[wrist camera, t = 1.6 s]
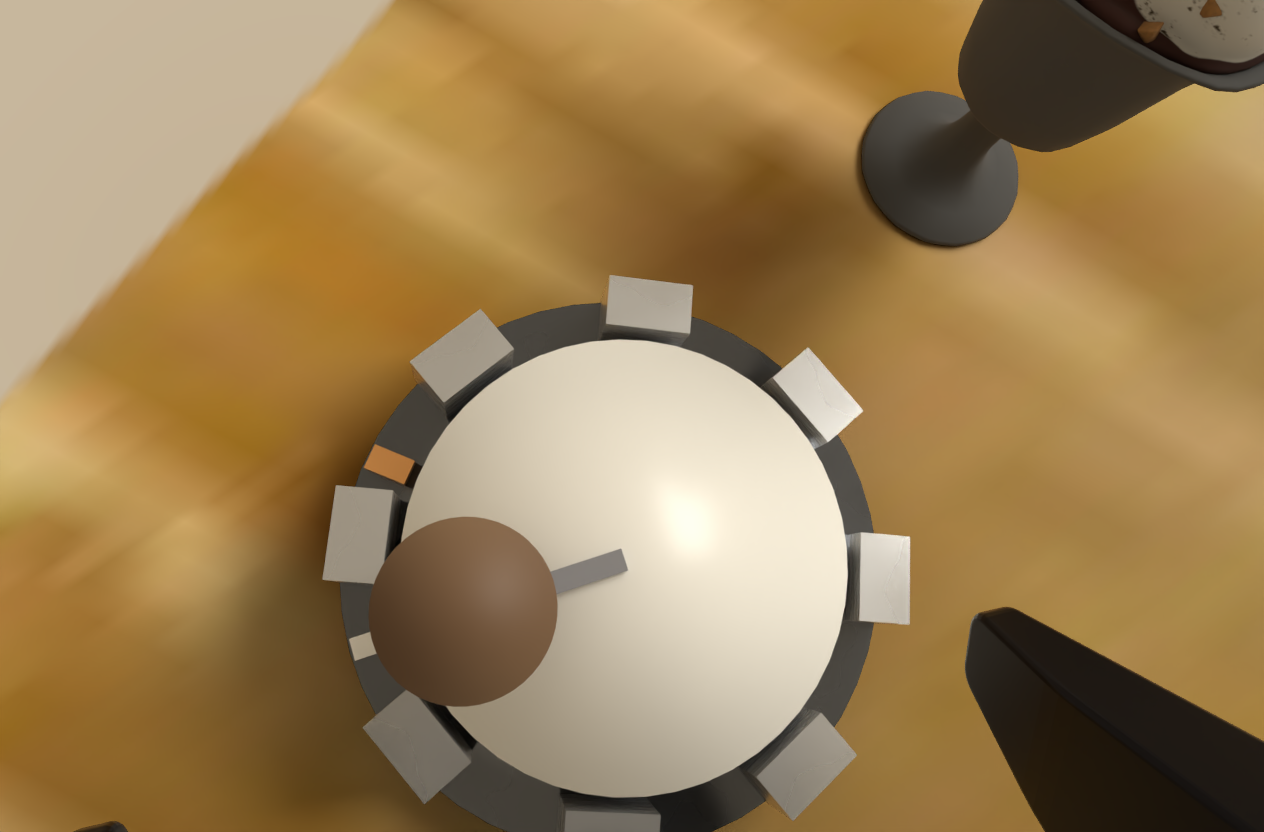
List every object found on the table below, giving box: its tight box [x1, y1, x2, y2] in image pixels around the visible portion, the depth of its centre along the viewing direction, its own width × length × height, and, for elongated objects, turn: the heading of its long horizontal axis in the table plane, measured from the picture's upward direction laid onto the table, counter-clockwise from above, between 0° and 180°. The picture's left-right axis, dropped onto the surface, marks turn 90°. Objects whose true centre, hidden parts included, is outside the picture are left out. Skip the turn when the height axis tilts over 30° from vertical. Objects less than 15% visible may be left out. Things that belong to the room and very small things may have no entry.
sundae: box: [862, 0, 1264, 246], centre depth 20 cm, size 7×7×15 cm
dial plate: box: [322, 275, 910, 832], centre depth 22 cm, size 13×13×3 cm
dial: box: [368, 339, 848, 797], centre depth 17 cm, size 10×10×10 cm
